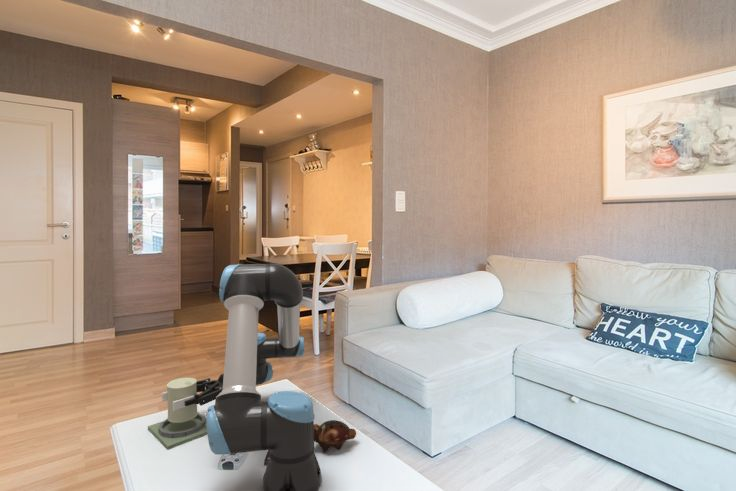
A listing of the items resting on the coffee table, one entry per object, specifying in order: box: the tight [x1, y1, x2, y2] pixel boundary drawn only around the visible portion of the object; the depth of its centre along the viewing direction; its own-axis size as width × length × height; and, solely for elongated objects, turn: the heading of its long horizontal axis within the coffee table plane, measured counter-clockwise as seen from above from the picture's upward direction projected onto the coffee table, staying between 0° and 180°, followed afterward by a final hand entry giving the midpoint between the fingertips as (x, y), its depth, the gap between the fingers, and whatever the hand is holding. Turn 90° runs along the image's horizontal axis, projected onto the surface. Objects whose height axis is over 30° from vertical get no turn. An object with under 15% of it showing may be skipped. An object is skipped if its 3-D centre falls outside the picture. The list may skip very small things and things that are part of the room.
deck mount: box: [147, 412, 208, 450], centre depth 134 cm, size 18×16×2 cm
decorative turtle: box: [314, 419, 357, 453], centre depth 124 cm, size 10×15×8 cm, turn 115°
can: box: [166, 377, 199, 423], centre depth 134 cm, size 9×9×12 cm
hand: (167, 401), depth 131 cm, fingers closed on can, 9 cm apart
